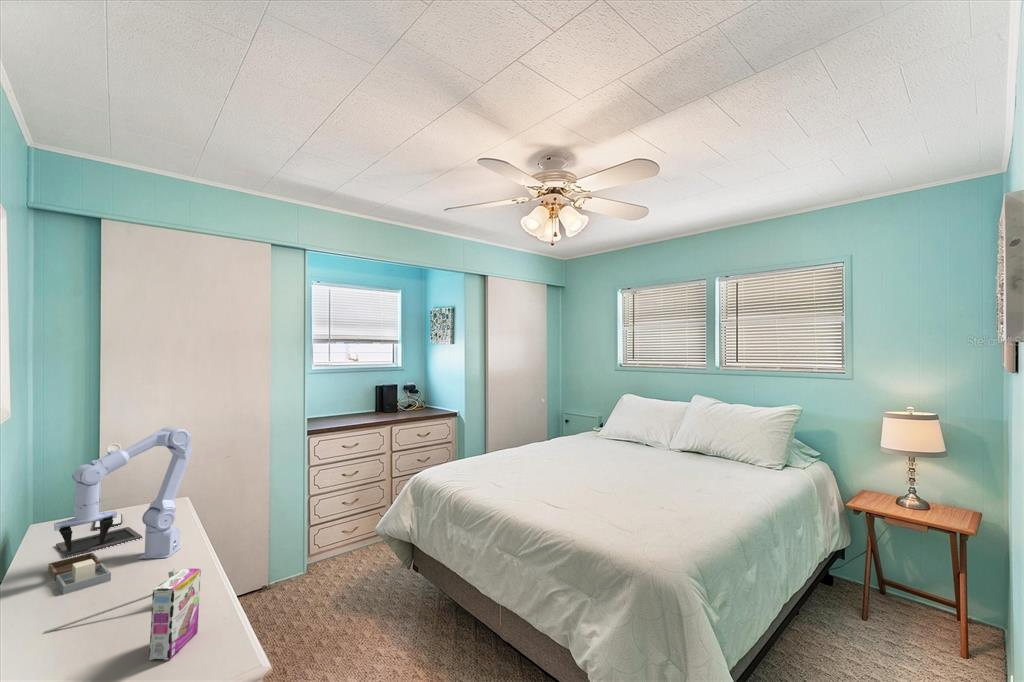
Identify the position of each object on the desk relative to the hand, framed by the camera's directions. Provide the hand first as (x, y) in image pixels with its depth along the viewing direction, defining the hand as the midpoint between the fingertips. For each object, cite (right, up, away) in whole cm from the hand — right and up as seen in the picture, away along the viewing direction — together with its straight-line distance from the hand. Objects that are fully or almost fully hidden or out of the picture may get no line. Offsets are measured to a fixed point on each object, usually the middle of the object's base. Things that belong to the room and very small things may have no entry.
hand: (85, 546), depth 145 cm
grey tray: (+2, -10, -3) cm, 10 cm away
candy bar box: (+53, -10, -33) cm, 63 cm away
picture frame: (-19, -11, +27) cm, 35 cm away
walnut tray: (-8, -10, +5) cm, 14 cm away
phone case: (-33, -11, +46) cm, 58 cm away
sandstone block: (+2, -9, -3) cm, 10 cm away
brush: (+28, -10, -20) cm, 36 cm away
